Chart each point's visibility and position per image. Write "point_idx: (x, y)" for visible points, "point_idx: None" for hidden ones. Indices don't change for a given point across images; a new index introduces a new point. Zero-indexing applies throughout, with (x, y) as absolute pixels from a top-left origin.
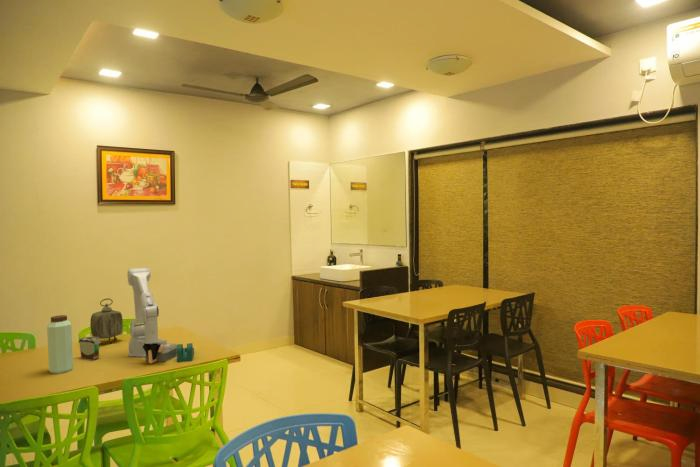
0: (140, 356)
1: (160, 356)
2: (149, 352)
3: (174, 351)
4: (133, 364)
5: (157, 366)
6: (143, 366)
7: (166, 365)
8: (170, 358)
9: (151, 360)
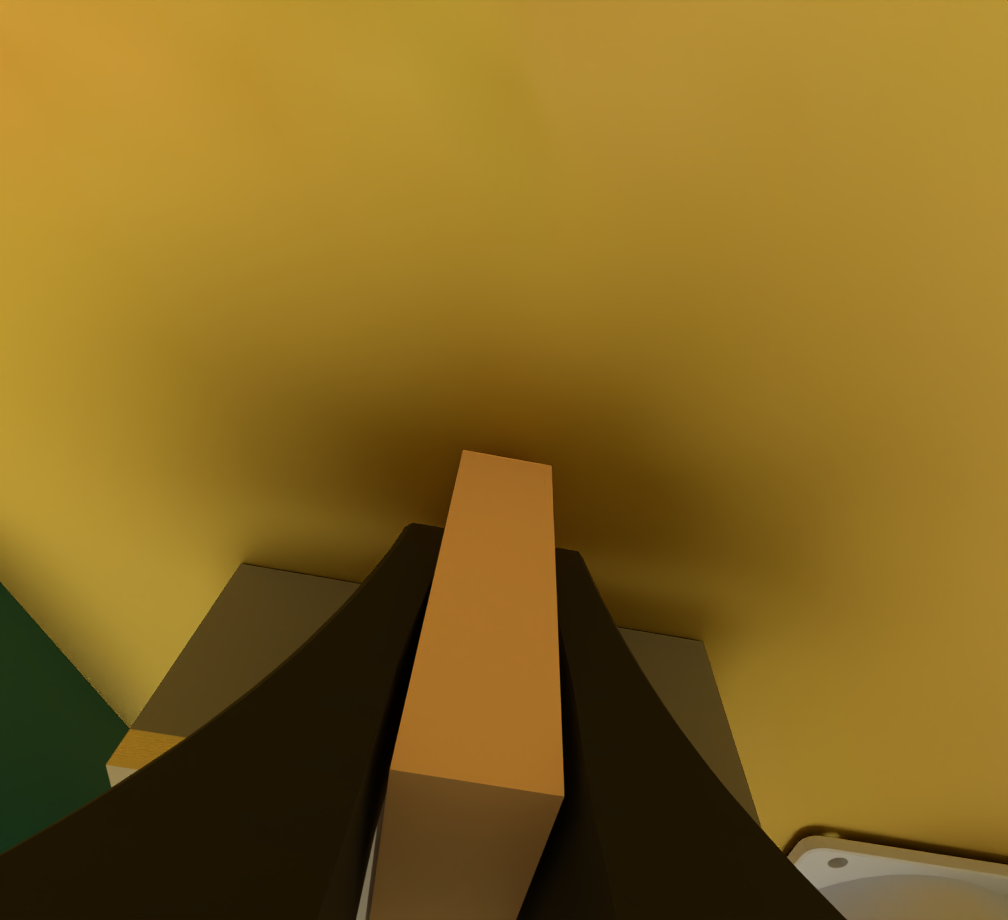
0: (886, 847)
1: None
2: (505, 704)
3: None
4: (958, 463)
5: (204, 247)
6: (625, 273)
7: (14, 321)
8: None
9: (459, 489)
